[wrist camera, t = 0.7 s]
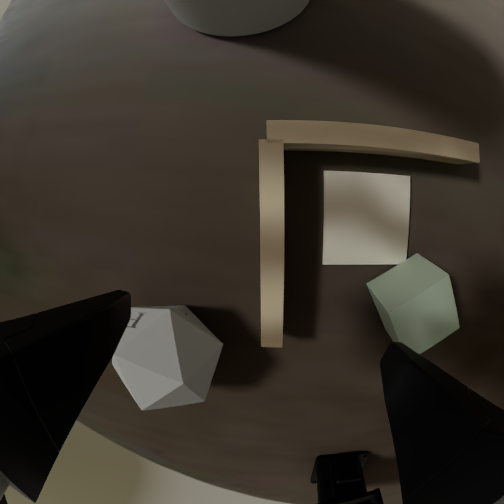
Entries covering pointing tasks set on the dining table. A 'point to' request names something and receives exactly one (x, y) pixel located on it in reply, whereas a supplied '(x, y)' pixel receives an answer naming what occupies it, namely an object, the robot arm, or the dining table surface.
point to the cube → (415, 303)
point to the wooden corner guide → (342, 199)
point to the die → (166, 357)
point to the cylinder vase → (235, 15)
